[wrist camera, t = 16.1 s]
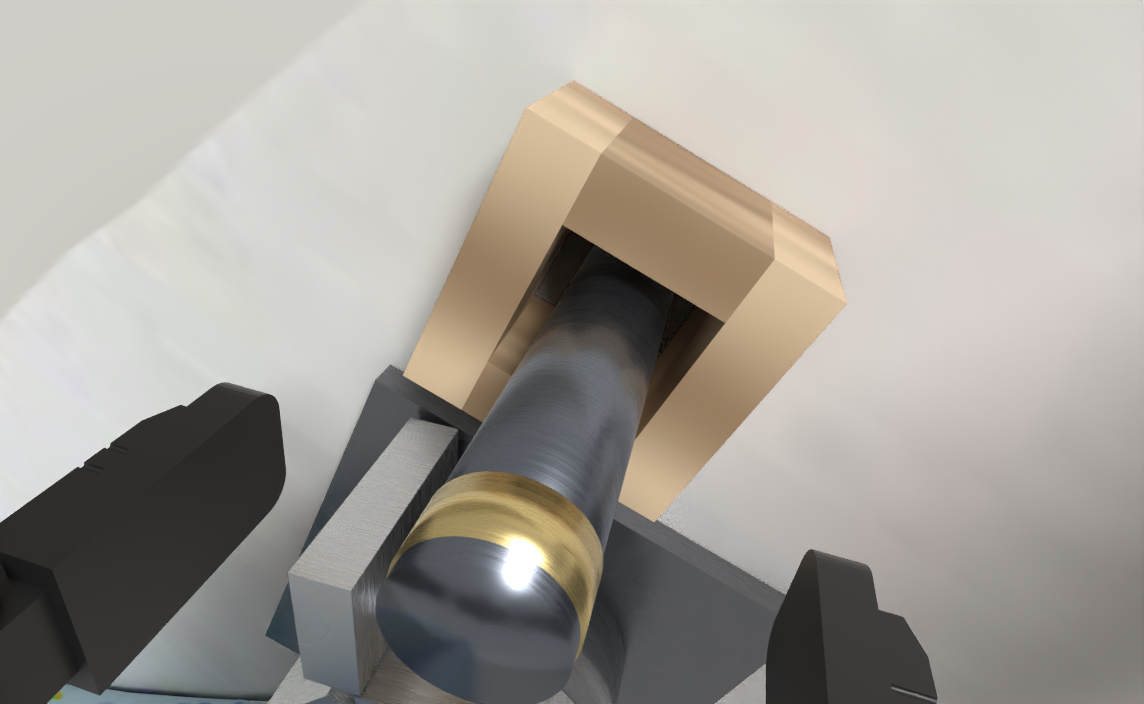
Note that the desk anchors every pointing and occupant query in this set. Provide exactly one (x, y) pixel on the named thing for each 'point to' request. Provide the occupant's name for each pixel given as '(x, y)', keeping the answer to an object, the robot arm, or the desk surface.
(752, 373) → the holder
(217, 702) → the lunch bag
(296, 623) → the grey cube ring
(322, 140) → the desk surface
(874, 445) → the desk surface
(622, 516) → the chuck base
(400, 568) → the dark grey cylinder
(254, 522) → the robot arm
